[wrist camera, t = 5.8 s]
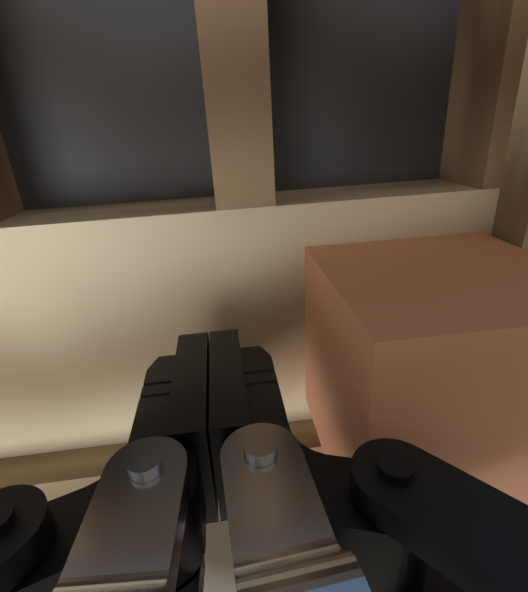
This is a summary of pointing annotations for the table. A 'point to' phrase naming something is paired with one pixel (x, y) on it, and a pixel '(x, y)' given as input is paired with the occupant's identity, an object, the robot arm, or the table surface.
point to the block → (422, 350)
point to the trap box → (223, 184)
